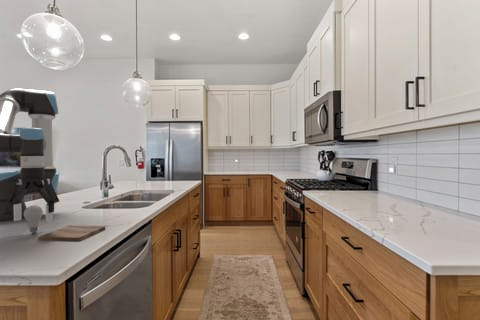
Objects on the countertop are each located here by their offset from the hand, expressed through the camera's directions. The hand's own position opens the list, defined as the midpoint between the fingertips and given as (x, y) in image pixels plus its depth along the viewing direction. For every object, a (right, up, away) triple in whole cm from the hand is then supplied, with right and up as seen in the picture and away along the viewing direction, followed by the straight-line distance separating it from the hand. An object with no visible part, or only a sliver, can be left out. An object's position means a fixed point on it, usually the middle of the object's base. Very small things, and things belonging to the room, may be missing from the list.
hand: (33, 220), depth 109 cm
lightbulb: (0, -5, 0) cm, 5 cm away
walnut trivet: (+17, -5, -1) cm, 18 cm away
